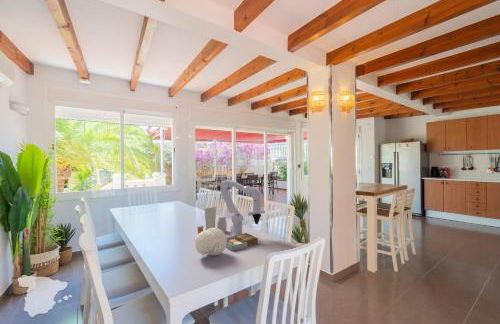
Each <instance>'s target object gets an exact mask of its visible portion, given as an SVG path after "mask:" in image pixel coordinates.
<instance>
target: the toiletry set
mask: <svg viewBox="0 0 500 324" xmlns="http://www.w3.org/2000/svg"><path fill="white" fill-rule="evenodd" d="M204 216H205V217H204V218H205V231H206V230H207V229H209V228H218V229H220V230H222V231H223V232H224V233H226V232H227V220H226V219H227V218H226V215H219V216H218V219H217V223H216V217H217V206H213V207H207V208H206V207H205V208H204ZM216 224H217V226H216ZM202 231H204V225H201V224H199V225H198V226H197V235H198V234H199V233H201V232H202Z"/></svg>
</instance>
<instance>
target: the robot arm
mask: <svg viewBox="0 0 500 324" xmlns="http://www.w3.org/2000/svg"><path fill="white" fill-rule="evenodd" d="M219 187H220V195H221V197H222V199H223V200H224V203H225V204H226V207H227V208H228V211H229V213H230V218H231V224H230V233H229V236H230V237H232V236H235V235H239V234H243V221H244V216H243V214H241V213H240V212H241V211H238V210H237V208H236V206H235V203H234V201H233V200H232V198H231V196H230V194H229V192H230V188H236V189H239V190H242V191H243V193H244V194H247V195H249V196H251V197H252V211H249V212H247V215H248V216H249V217H250V216H251V217H252V218H253V220H254V224H255V225H259V222H260V219H261V217H262V214H266V210H261V202H262V201H261V196H262V191H261V190H260V189H258V188H255V187H251V185H249V184H248V185H243V184H241V183H238V182H237V181H234V180H232V179H226V180H222V181H221V182H220V183H219Z"/></svg>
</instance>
